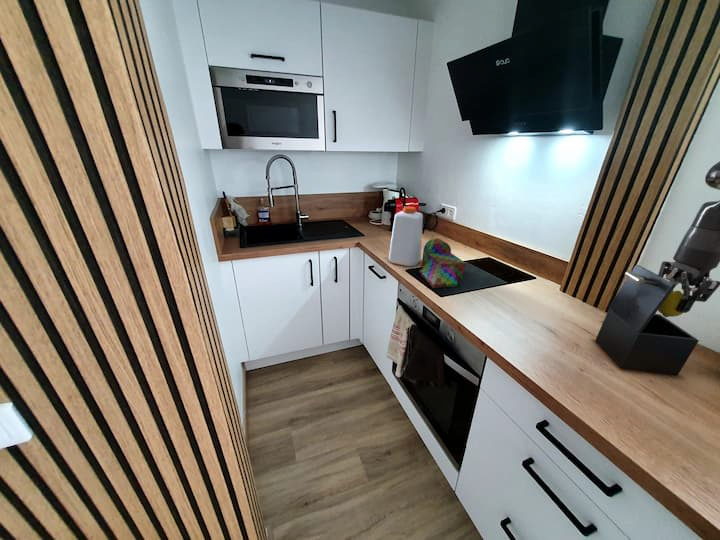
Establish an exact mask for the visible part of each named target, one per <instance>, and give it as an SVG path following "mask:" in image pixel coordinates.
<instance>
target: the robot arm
mask: <svg viewBox="0 0 720 540" xmlns="http://www.w3.org/2000/svg"><path fill="white" fill-rule="evenodd" d="M704 182H705V185H707V186H708V187H709V188H710V189H714V190H717V191H720V161H718V162H716V163H715V164H714V165H712V166H711V167H710V168H709V169H708V170H707V172H706V174H705V176H704ZM672 259H673V261H668V260H667V261H665V260H664V261H661V264H660V267H659V271H658V273H657V275H659V276H661V277H663V278H665V279H667V280H669V281H671V282H673V283H675V284H677V285H681V288H680V289H681V291H682V293H683V298H682V299H681V300H680V302H679V304H678V306H677V308H676V311H677V312H681V313H683V314H686V313H688V312H690V311H691V309H692V307H693V306H694V304H695V302H702V303H706V302H707V301H708V300H709V299H710V297H711V296H712V295H713V294H714V293H715V292H716V290H717V289H718V288H719V287H720V281H719V280H714V279H712V278H711V277H710V273H711V272H712V270H714V269H716V268H717V267H718V266H719V264H720V199H719V200H713V201H707V202H704V203H702V204H701V205H700V207H699V208H698V210H697V212H696V215H695V216H694V218H693V220H692V222H691V224H690V225H689V228H688V229H687V230H686V231H685V233H684V235H683V237H682V239H681V241H680V243H679V245H678V247H677V249H676V251H675V252H674V255H673V257H672ZM674 289H675V288H674ZM674 289H673V291H675V290H674Z"/></svg>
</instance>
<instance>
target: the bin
mask: <svg viewBox="0 0 720 540" xmlns="http://www.w3.org/2000/svg"><path fill="white" fill-rule="evenodd" d="M594 342H595V343H596V344H597V345H598V346H599V348H601V349H602V351H603V352H604V353H605V354H606V355H607V357H609V358H610V359H611V360H612V361H613V362H614V363H615V364H616V365H617V366H618V367H619V368H620V370H625V371H626V370H627V371H633V372H634V371H635V372H641V373H650V374H657V375H658V374H659V375H665V376H674V377H678V376H679V374H680V373H681V371H682V369H683V368H684V366H685V364H686V363H687V361H688V359H689V358H690V356H691V354H692V353H693V351H694V350H695V348H696V346H697V345H698V343H699V342H700V340H699V339H697V337H694V336H693V335H691V334H690V333H688V331H686V330H684V329H682V327H680V326H678V325H677V324H675V323H674V322H672V321H671V320H670V319H668V318H667V317H664V316H663V315H662V314H661V313H655V315H654V316H653V317H652V319H651V320H650V321H649V323H648V324H647V326H646V327H645V328H644V330H643V331H642V332H638V331H637V330H635V329H634V328H633V327H632V326H630V325H629V324H628V323H627V322H625V321H624V320H623V319H622V318H621V317H619V316H618V315H617V314H616V313H614V312H613V311H612V310H611V309H609V308H608V310H607V313H606V315H605V317H604V319H603V321H602V324H601V325H600V329H599V330H598V333H597V335H596V338H595V340H594Z"/></svg>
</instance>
